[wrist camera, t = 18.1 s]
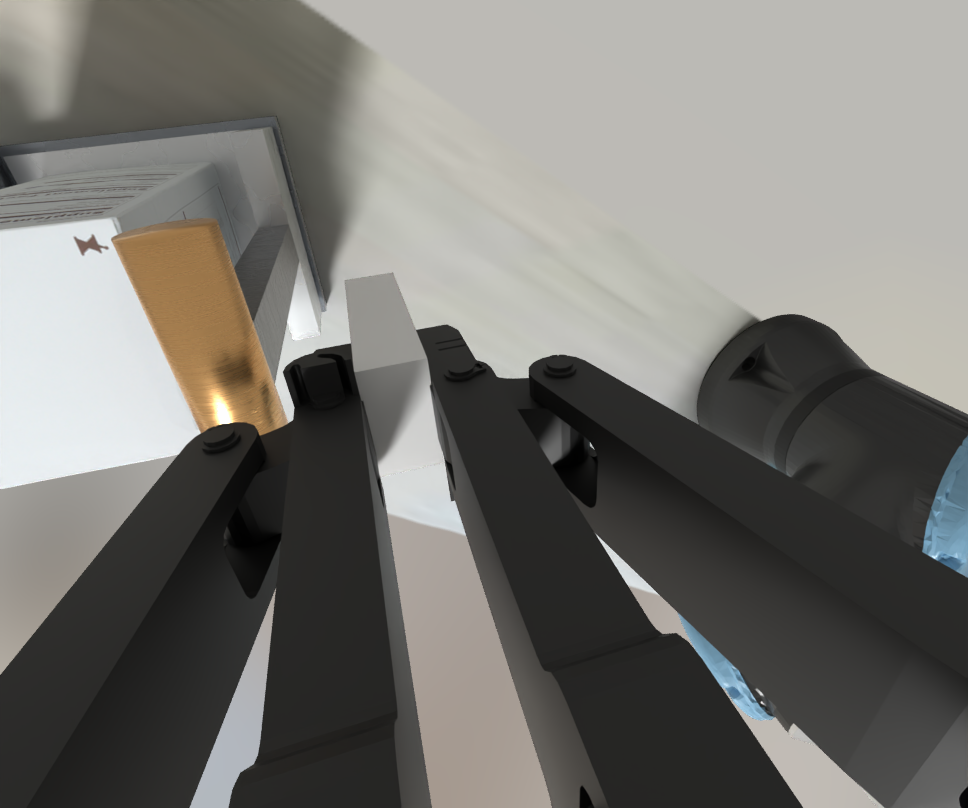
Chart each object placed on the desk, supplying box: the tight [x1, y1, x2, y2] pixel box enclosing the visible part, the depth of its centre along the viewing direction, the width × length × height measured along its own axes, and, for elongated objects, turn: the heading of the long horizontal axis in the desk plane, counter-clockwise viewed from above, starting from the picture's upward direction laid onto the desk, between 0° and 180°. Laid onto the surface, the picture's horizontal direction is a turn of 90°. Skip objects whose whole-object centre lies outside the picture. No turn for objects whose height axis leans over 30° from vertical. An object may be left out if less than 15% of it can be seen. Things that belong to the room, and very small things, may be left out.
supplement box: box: [0, 162, 242, 489], centre depth 24 cm, size 10×9×17 cm
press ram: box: [111, 127, 322, 435], centre depth 22 cm, size 11×2×23 cm, turn 5°
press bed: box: [0, 116, 327, 312], centre depth 31 cm, size 12×16×5 cm
